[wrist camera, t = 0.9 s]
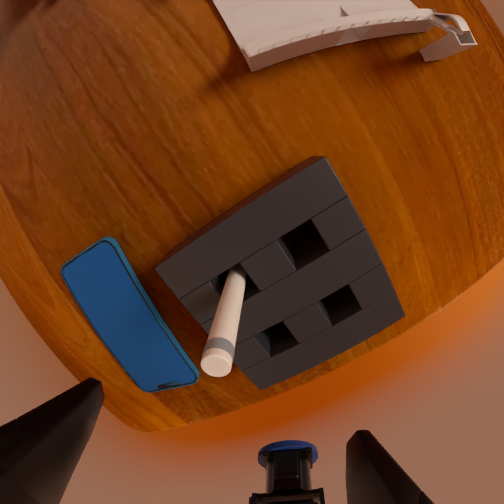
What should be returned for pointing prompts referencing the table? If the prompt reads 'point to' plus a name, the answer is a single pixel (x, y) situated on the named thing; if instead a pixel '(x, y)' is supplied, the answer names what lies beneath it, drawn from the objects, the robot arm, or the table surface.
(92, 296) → the smartphone
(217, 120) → the table surface
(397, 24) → the skate ramp
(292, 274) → the pen stand
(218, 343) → the stylus
